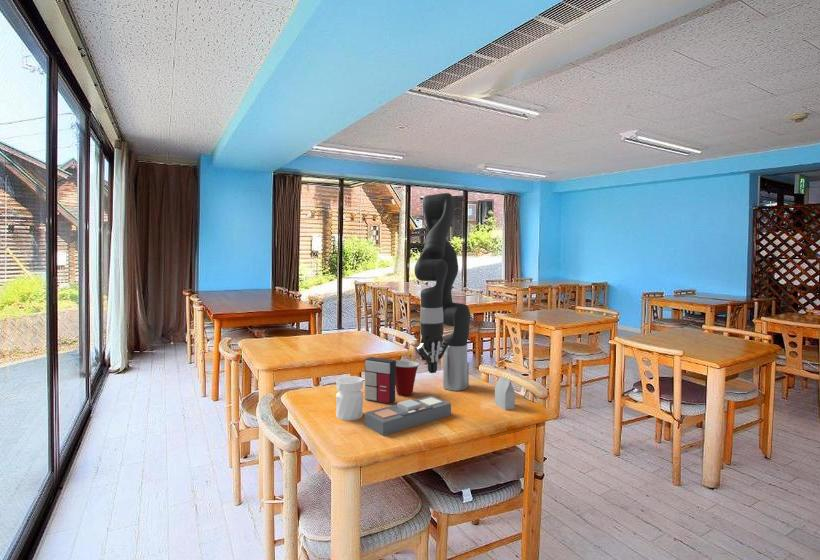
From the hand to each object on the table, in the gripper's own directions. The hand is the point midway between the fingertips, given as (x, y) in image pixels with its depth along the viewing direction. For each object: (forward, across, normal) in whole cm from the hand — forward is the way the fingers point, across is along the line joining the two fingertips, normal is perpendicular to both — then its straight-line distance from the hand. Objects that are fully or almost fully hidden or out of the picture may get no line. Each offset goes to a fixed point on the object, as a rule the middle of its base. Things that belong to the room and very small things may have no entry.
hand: (432, 372), depth 154 cm
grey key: (+11, +10, 0) cm, 15 cm away
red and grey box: (+14, +6, -21) cm, 26 cm away
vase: (+14, +22, -16) cm, 31 cm away
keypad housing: (+14, +10, 0) cm, 17 cm away
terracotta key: (+12, +19, -1) cm, 22 cm away
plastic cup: (+14, -6, -22) cm, 27 cm away
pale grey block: (+15, -24, +10) cm, 30 cm away
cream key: (+13, +1, 0) cm, 13 cm away
